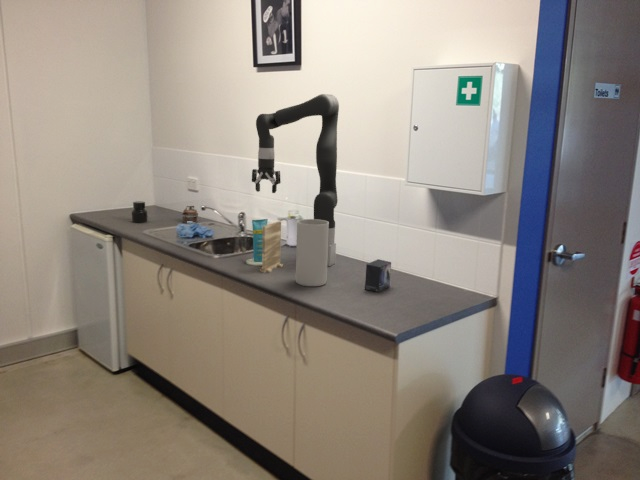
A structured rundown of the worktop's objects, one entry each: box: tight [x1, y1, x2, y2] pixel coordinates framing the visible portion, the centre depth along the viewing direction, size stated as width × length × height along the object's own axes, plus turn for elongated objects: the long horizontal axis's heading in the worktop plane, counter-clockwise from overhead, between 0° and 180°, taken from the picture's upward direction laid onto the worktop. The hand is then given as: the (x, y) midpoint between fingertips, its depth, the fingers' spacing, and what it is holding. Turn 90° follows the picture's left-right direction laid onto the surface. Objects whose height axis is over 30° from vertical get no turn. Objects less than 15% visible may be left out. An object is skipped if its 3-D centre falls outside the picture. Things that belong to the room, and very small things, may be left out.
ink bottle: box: [131, 200, 148, 224], centre depth 345 cm, size 10×9×12 cm
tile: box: [246, 257, 262, 267], centre depth 261 cm, size 11×11×1 cm
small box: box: [364, 259, 392, 293], centre depth 227 cm, size 11×6×10 cm, turn 148°
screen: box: [259, 220, 284, 274], centre depth 249 cm, size 5×14×20 cm, turn 155°
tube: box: [251, 218, 268, 262], centre depth 259 cm, size 7×5×19 cm, turn 125°
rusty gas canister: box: [181, 205, 199, 224], centre depth 349 cm, size 10×10×10 cm
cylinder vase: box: [295, 218, 329, 287], centre depth 230 cm, size 12×12×25 cm
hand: (265, 192), depth 271 cm, fingers open, 8 cm apart
